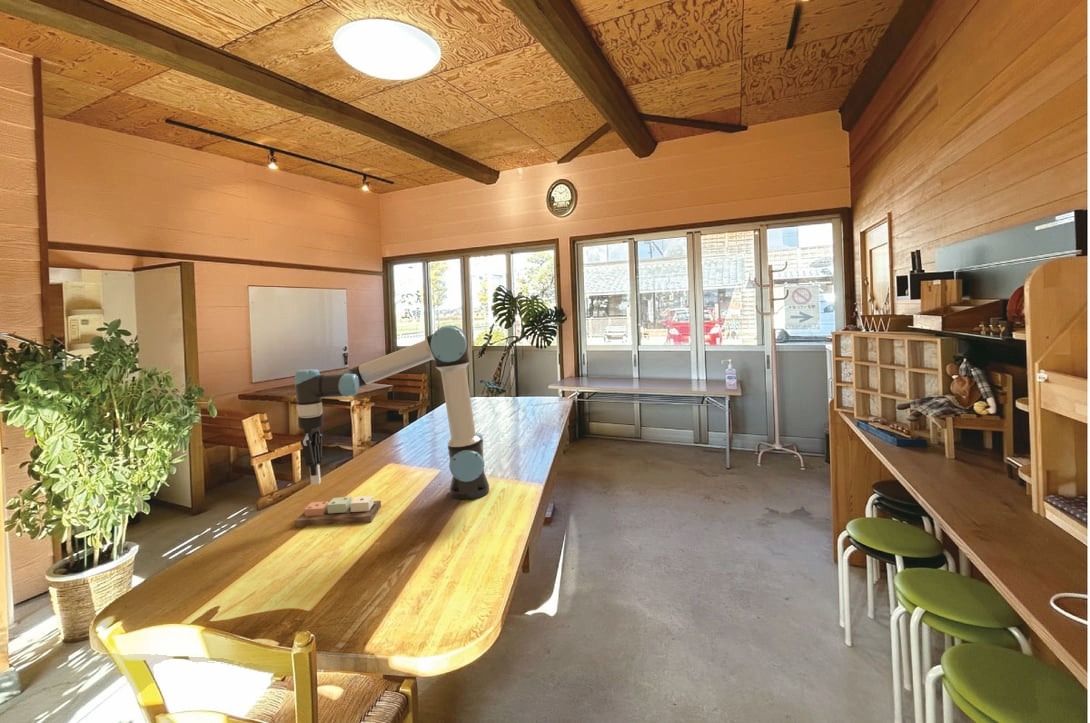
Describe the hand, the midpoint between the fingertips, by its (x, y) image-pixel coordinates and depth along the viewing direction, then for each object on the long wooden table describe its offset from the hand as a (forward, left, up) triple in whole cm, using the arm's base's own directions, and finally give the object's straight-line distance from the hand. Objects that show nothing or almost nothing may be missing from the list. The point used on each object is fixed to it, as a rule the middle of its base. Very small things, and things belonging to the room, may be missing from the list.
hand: (315, 483), depth 159 cm
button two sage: (-7, 0, -10) cm, 12 cm away
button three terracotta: (0, 0, -11) cm, 11 cm away
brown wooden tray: (-7, 0, -12) cm, 14 cm away
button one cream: (-15, 0, -10) cm, 18 cm away
